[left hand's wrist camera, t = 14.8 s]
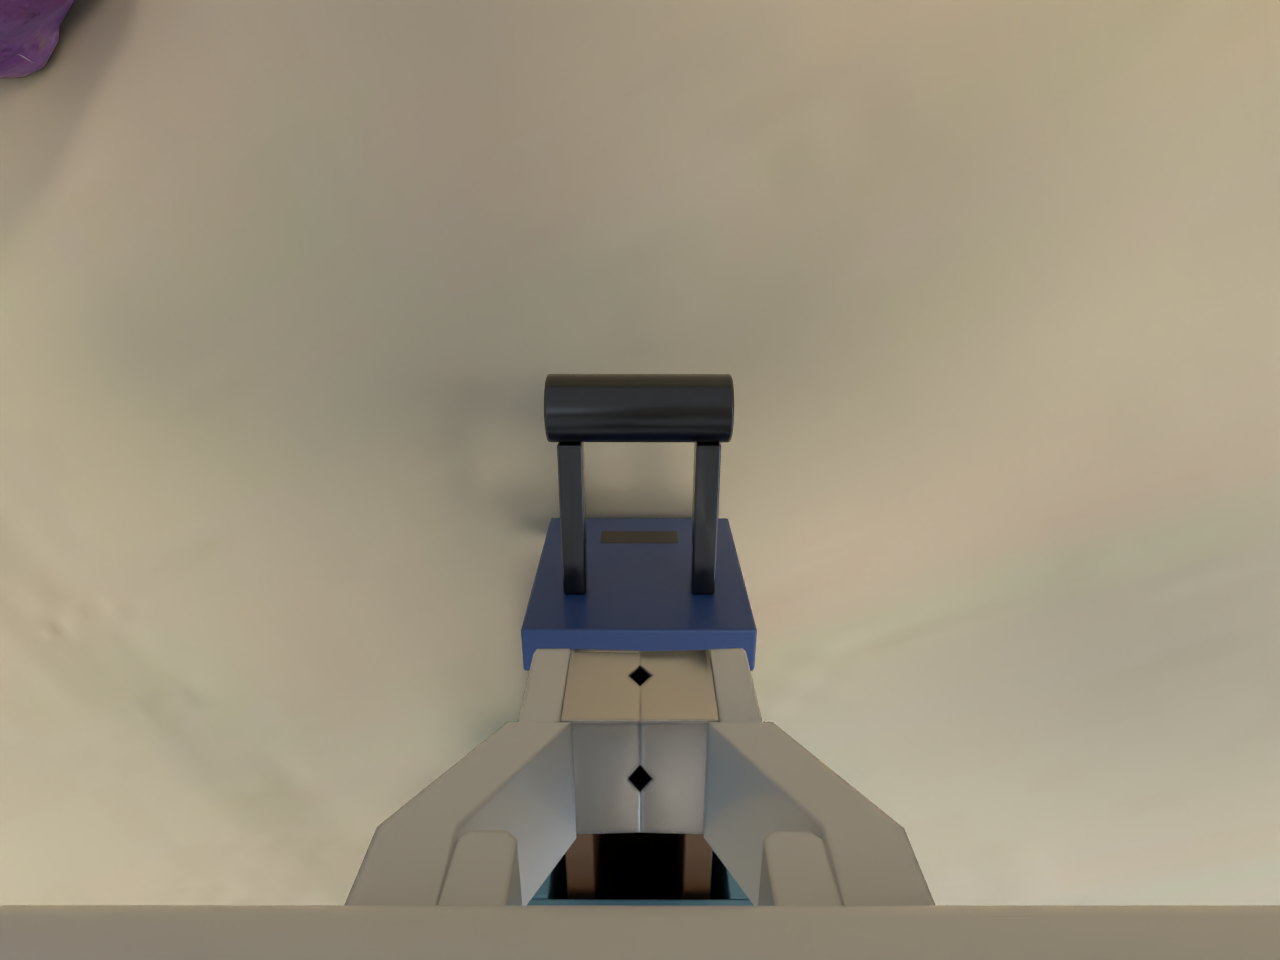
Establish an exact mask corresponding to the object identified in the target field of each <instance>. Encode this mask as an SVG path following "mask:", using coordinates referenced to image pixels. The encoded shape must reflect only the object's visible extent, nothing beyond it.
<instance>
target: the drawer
mask: <svg viewBox="0 0 1280 960" xmlns="http://www.w3.org/2000/svg"><path fill="white" fill-rule="evenodd" d="M544 422H545V431H546V437H547V440H548V441H549V442H558V445H557V456H558V480H559V503H560V518H552V519H551V521H550V524H549V528H548V532H547V536H546V539H545V543H544V547H543V550H542V554H541V558H540V562H539V565H538V569H537V573H536V576H535V580H534V584H533V588H532V591H531V595H530V599H529V602H528V606H527V610H526V614H525V617H524V621H523V625H522V628H521V637H522V651H523V666H524V670H530V666H531V662H532V658H533V654H534V652H535V651H536V650H537V649H570V650H572V649H607V650H640V651H677V650H709V649H732V648H743V649H744V650H745V651H746V654H747V658H748V663H749V667H750V671H752V670H753V669H754V663H755V648H756V634H757V630H756V626H755V622H754V618H753V614H752V610H751V607H750V603H749V599H748V595H747V591H746V587H745V583H744V579H743V576H742V572H741V568H740V564H739V560H738V556H737V552H736V549H735V545H734V541H733V537H732V533H731V529H730V525H729V522H728V519H726V518H718V507H719V484H720V461H721V444H720V442H730V440H731V437H732V432H733V423H734V388H733V380H732V377H731V375H729V374H549V375H547V378H546V381H545V390H544ZM584 442H695V443H694V477H693V511H692V518H586V504H585V469H584ZM712 851H713V849H712V848H711V847H710V845H709V844H708V843H707V841H706V840H705V839H704V834H672V833H607V834H576V839H575V841H574V842H573V843H572V845H571V846H570V847H569V849H568V850H567V851H566V853H565V859H566V879H567V899H624V900H710V891H711V871H712Z"/></svg>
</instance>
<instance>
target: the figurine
mask: <svg viewBox="0 0 1280 960" xmlns="http://www.w3.org/2000/svg"><path fill="white" fill-rule="evenodd" d="M73 2H74V0H0V78H22V77H24V76H26V75H29V74H31V73H33V72H36V71H38V70H40V69H43V68H44V66H45V65H46V63H47V61H48V59H49V57H50V56H51V54H52V52H53V50H54V48H55V47H56V45H57V43H58V41H59V26H60V24H61V23H62V21H63V19H64V17H65V16H66V14H67V12H68V10H69V9H70V7H71V5H72V4H73Z"/></svg>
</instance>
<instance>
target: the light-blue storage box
mask: <svg viewBox="0 0 1280 960" xmlns="http://www.w3.org/2000/svg"><path fill="white" fill-rule="evenodd" d="M527 905H625V906H754V905H753V904H752V902H751V901H750V899H749V898H748V897H747V895H746V894H745V893H744V891H743V890H742V889H741V887H740V886H739V885H738V883H737V882H736V880H735V879H734V878H733V876H732V875H731V874H730V872H729V871H728V870H727V868H726V867H725V866H724V864H723V863H722V862H721V860H720V859H719V857H718V856H717V855H716V853H715V852H714V851H712V871H711V891H710V900H624V899H567V879H566V859H565V854H564V856H563V857H562V858H561V860H560V861H559V862H558V864H557V865H556V866H555V868H554V869H553V870H552V872H551V873H550V874H549V876H548V877H547V878H546V880H545V881H544V882H543V884H542V885H541V886H540V888H539V889H538V890H537V892H536V893H535V895H534V896H533V897H532V899H531V900H530V901H529V903H528V904H527Z"/></svg>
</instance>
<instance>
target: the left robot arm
mask: <svg viewBox="0 0 1280 960" xmlns="http://www.w3.org/2000/svg"><path fill="white" fill-rule="evenodd" d="M607 833H672V834H704V839H705V840H706V841H707V843H708V844H709V845H710V847H711V848H712V849H713V851H714V852H715V853H716V855H717V856H718V857H719V859H720V860H721V862H722V863H723V864H724V866H725V867H726V868H727V870H728V871H729V872H730V874H731V875H732V876H733V878H734V879H735V880H736V882H737V883H738V885H739V886H740V887H741V889H742V890H743V891H744V893H745V894H746V895H747V897H748V898H749V899H750V901H751V902H752V904H753V905H754V906H625V905H527V904H528V903H529V901H530V900H531V899H532V897H533V896H534V895H535V893H536V892H537V890H538V889H539V888H540V886H541V885H542V884H543V882H544V881H545V880H546V878H547V877H548V876H549V874H550V873H551V872H552V870H553V869H554V868H555V866H556V865H557V864H558V862H559V861H560V860H561V858H562V857H563V856H564V854H565V853H566V851H567V850H568V849H569V847H570V846H571V845H572V843H573V842H574V841H575V839H576V834H607ZM0 960H1280V905H1221V906H936V905H935V903H934V901H933V898H932V896H931V893H930V891H929V888H928V886H927V883H926V881H925V879H924V876H923V874H922V871H921V869H920V866H919V864H918V861H917V859H916V857H915V854H914V852H913V849H912V847H911V844H910V842H909V839H908V837H907V835H906V832H905V830H904V828H903V827H902V826H900V825H899V824H898V823H897V822H895V821H894V820H893V819H892V818H890V817H889V816H888V815H887V814H885V813H884V812H883V811H882V810H881V809H879V808H878V807H877V806H876V805H874V804H873V803H872V802H871V801H869V800H868V799H867V798H866V797H864V796H863V795H862V794H861V793H860V792H858V791H857V790H856V789H855V788H853V787H852V786H851V785H850V784H848V783H847V782H846V781H845V780H843V779H842V778H841V777H840V776H838V775H837V774H836V773H835V772H834V771H832V770H831V769H830V768H829V767H827V766H826V765H825V764H824V763H822V762H821V761H820V760H819V759H817V758H816V757H815V756H814V755H813V754H811V753H810V752H809V751H808V750H806V749H805V748H804V747H803V746H801V745H800V744H799V743H798V742H796V741H795V740H794V739H793V738H791V737H790V736H789V735H788V734H787V733H785V732H784V731H783V730H782V729H780V728H779V727H778V726H777V725H775V724H774V723H773V722H762V719H761V714H760V710H759V706H758V701H757V697H756V693H755V689H754V684H753V680H752V676H751V671H750V667H749V663H748V658H747V654H746V651H745V650H744V649H743V648H732V649H709V650H677V651H640V650H607V649H572V650H570V649H537V650H536V651H535V652H534V654H533V658H532V662H531V666H530V671H529V675H528V679H527V684H526V688H525V692H524V697H523V701H522V706H521V710H520V714H519V719H518V722H507V723H506V724H505V725H503V726H502V727H501V728H500V729H498V730H497V731H496V732H495V733H493V734H492V735H491V736H490V737H488V738H487V739H486V740H485V741H483V742H482V743H481V744H480V745H479V746H477V747H476V748H475V749H474V750H472V751H471V752H470V753H469V754H467V755H466V756H465V757H464V758H462V759H461V760H460V761H459V762H457V763H456V764H455V765H454V766H452V767H451V768H450V769H449V770H447V771H446V772H445V773H444V774H442V775H441V776H440V777H439V778H438V779H436V780H435V781H434V782H433V783H431V784H430V785H429V786H428V787H426V788H425V789H424V790H423V791H421V792H420V793H419V794H418V795H416V796H415V797H414V798H413V799H411V800H410V801H409V802H408V803H406V804H405V805H404V806H403V807H401V808H400V809H399V810H398V811H396V812H395V813H394V814H393V815H392V816H390V817H389V818H388V819H387V820H385V821H384V822H383V823H382V824H380V825H379V826H378V827H377V828H376V831H375V833H374V835H373V838H372V840H371V843H370V845H369V847H368V850H367V852H366V855H365V857H364V860H363V862H362V864H361V867H360V869H359V872H358V874H357V876H356V879H355V881H354V884H353V886H352V888H351V891H350V893H349V896H348V898H347V900H346V903H345V905H344V906H215V905H0Z"/></svg>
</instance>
